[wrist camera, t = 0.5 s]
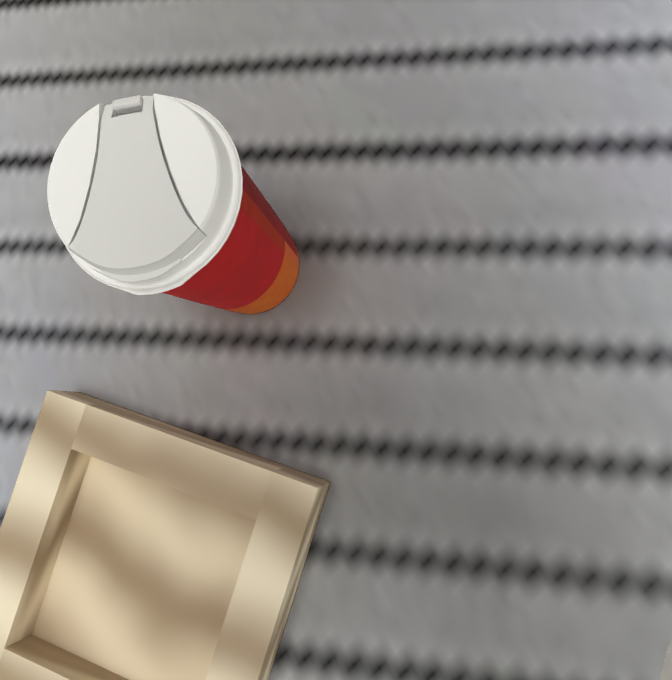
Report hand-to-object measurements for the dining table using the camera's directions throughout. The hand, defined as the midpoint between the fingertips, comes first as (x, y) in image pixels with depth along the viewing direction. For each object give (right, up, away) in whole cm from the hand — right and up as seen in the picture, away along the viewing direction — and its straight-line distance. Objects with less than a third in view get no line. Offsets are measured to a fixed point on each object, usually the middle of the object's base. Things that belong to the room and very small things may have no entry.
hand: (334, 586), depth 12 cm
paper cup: (-5, +9, +25) cm, 27 cm away
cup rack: (-10, -8, +24) cm, 27 cm away
